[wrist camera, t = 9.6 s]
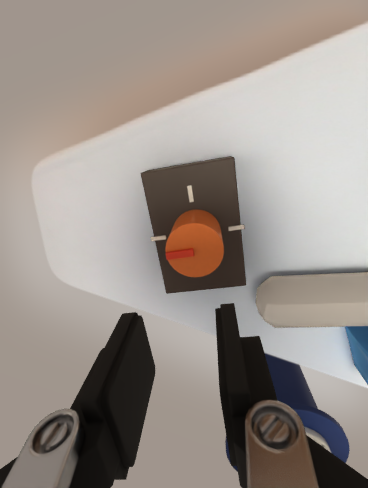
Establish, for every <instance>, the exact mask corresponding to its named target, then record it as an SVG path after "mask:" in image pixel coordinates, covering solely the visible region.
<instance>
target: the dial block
mask: <svg viewBox="0 0 368 488" xmlns="http://www.w3.org/2000/svg"><path fill="white" fill-rule="evenodd" d="M141 177H142V182H143V187H144V191H145V196H146V201H147V205H148V210H149V214H150V219H151V224H152V228H153V233H154V237H151V241H155V242H156V247H157V252H158V256H159V261H160V266H161V270H162V275H163V280H164V284H165V289H166V293H176V292H186V291H196V290H206V289H215V288H225V287H235V286H245V285H246V276H245V266H244V255H243V245H242V235H241V229H245V227H244V225H241V224H240V214H239V203H238V193H237V182H236V172H235V161H234V157H231V156H229V157H223V158H217V159H212V160H206V161H200V162H194V163H188V164H182V165H176V166H170V167H164V168H159V169H153V170H148V171H145V172H142V173H141ZM195 209H197V210H204V211H206V212H209V213H210V214H212V215H213V216H214V217H215V218H216V219H217V221H218V223H219V225H220V228H221V234H222V240H223V246H224V255H223V259H222V261H221V263H220V265H219V266H218V267H217V268H216V269H215V270H214V271H213V272H212V273H210V274H208V275H205V276H202V277H188V276H185V275H183V274H180V273H179V272H177V271H176V270H175V269H174V268H173V267H172V266H171V265H170V263H169V262H168V260H167V259H166V254H165V253H166V243H167V240H168V237H169V235H170V233H171V231H172V228H173V226H174V224H175V221H176V220H177V219H178V217H179V216H180V215H182V214H183V213H185V212H187V211H189V210H195Z"/></svg>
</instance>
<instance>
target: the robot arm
mask: <svg viewBox="0 0 368 488" xmlns="http://www.w3.org/2000/svg"><path fill="white" fill-rule="evenodd" d="M220 307H221V308H217V309H215V311H216V331H217V350H218V368H219V387H220V397H221V404H222V410H223V417H224V423H225V429H226V435H227V442H228V448H229V454H230V460H231V465H232V466H237V468H238V475H239V481H240V486H241V487H242V488H368V479H366V478H365V477H364V476H362V475H361V474H360V473H358V472H357V471H355V470H354V469H353V468H351V467H350V466H348V465H347V464H346V463H344V462H343V461H341V460H340V459H339V458H337V457H336V456H335V455H333V454H332V453H331V451H330V448H329V446H328V443H327V442H326V440H325V439H324V438H323V437H322V436H321V435H320V434H319V433H317V432H316V431H314V430H312V429H309V428H307V427H304V425H303V423H302V421H301V418H300V417H299V416H298V414H297V413H296V412H295V411H294V410H293V409H292V408H290V407H289V406H288V405H286V404H284V403H282V402H279V401H278V400H277V397H276V393H275V390H274V386H273V382H272V379H271V375H270V372H269V368H268V365H267V361H266V357H265V354H264V350H263V347H262V343H261V340H260V337H259V336H253V337H240V335H239V330H238V324H237V318H236V312H235V307H234V303H230V304H220ZM154 377H155V364H154V360H153V356H152V353H151V349H150V345H149V341H148V337H147V333H146V330H145V326H144V322H143V318H142V317H141V316H138V314H137V313H124V314H122V315H121V317H120V319H119V321H118V323H117V325H116V327H115V329H114V331H113V333H112V334H111V336H110V338H109V340H108V342H107V344H106V346H105V348H103V349H102V350H101V351H100V353H99V355H98V357H97V359H96V361H95V363H94V364H93V366H92V368H91V370H90V372H89V374H88V376H87V378H86V380H85V381H84V384H83V385H82V387H81V389H80V391H79V393H78V395H77V397H76V399H75V400H74V403H73V404H72V406H71V408H70V409H61V410H58V411H55V412H53V413H51V414H49V415H48V416H46V417H45V418H44V419H43V420H41V421H40V422H39V424H37V425H36V426H35V428H34V429H33V430H32V432H31V434H30V435H29V437H28V439H27V440H26V442H25V444H24V446H23V448H22V450H21V452H20V454H19V456H18V457H17V458H15V459H14V460H12V461H11V462H10V463H9V464H7V465H5V466H4V467H3V468H1V469H0V488H110V487H111V486H112V485H113V482H114V480H115V479H116V480H119V479H120V480H121V479H126V477H127V473H128V469H129V467H133V465H134V463H135V459H136V454H137V451H138V446H139V442H140V438H141V433H142V429H143V424H144V420H145V416H146V411H147V407H148V403H149V398H150V394H151V390H152V385H153V381H154Z"/></svg>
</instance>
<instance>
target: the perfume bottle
mask: <svg viewBox="0 0 368 488" xmlns="http://www.w3.org/2000/svg"><path fill="white" fill-rule="evenodd" d="M345 328H346V332H347V336H348V340H349V345H350V349H351V353H352V357H353V361H354V365H355V366H356V368H357V369H358V371H359V372H360V374H361V375H362V377H363V378H364V380H365V381H366V383H367V384H368V326H345Z"/></svg>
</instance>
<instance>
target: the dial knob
mask: <svg viewBox="0 0 368 488" xmlns="http://www.w3.org/2000/svg"><path fill="white" fill-rule="evenodd" d="M165 254H166V259H167V260H168V262H169V263H170V265H171V266H172V267H173V268H174V269H175V270H176V271H177V272H179V273H180V274H183V275H185V276H188V277H202V276H205V275H208V274H210V273H212V272H213V271H214V270H215V269H216V268H217V267H218V266H219V265H220V263H221V261H222V259H223V255H224V246H223V240H222V234H221V228H220V225H219V223H218V221H217V219H216V218H215V217H214V216H213V215H212V214H210V213H209V212H206V211H204V210H197V209H195V210H189V211H187V212H185V213H183V214H182V215H180V216H179V217H178V219H177V220H176V221H175V224H174V226H173V228H172V231H171V233H170V235H169V237H168V240H167V243H166V253H165Z"/></svg>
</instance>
